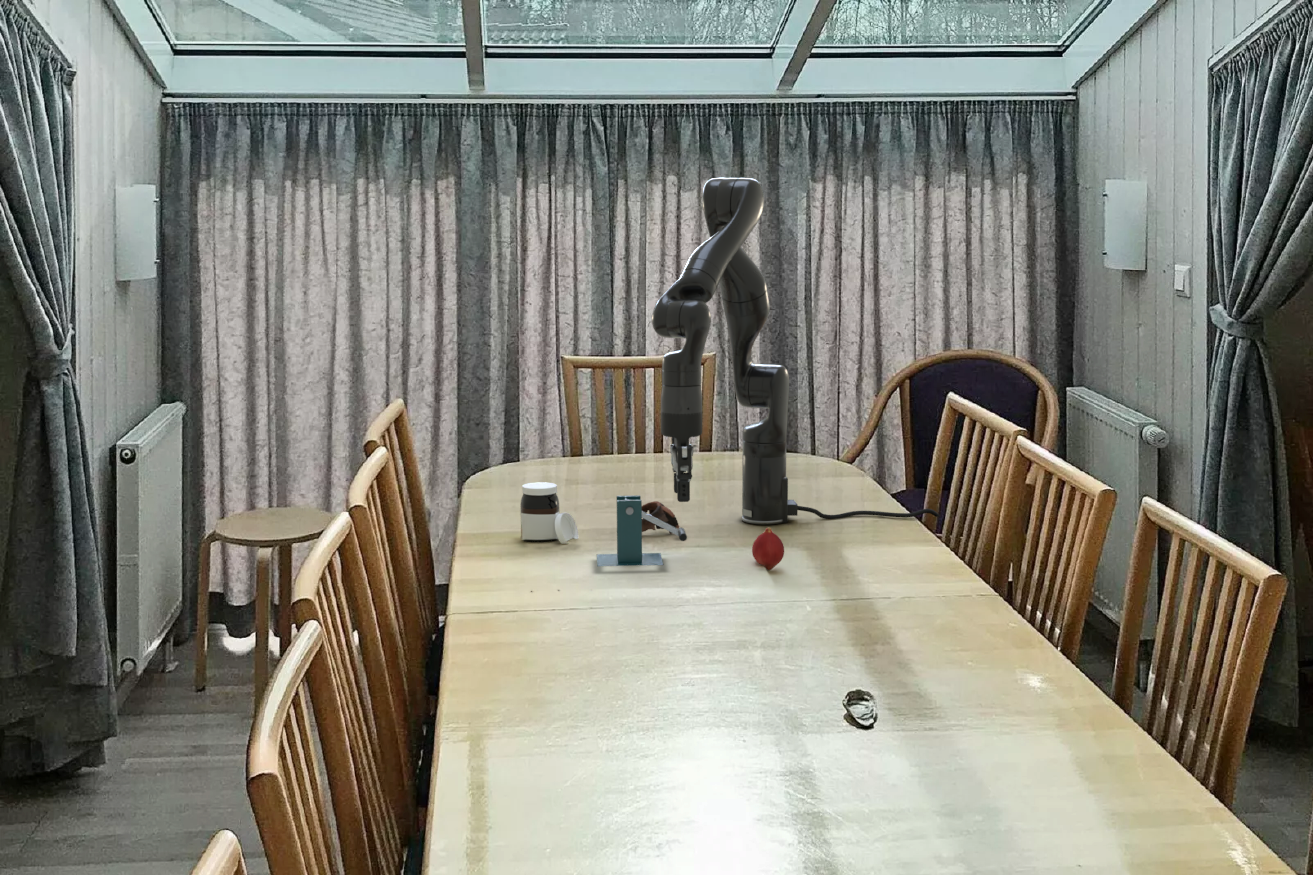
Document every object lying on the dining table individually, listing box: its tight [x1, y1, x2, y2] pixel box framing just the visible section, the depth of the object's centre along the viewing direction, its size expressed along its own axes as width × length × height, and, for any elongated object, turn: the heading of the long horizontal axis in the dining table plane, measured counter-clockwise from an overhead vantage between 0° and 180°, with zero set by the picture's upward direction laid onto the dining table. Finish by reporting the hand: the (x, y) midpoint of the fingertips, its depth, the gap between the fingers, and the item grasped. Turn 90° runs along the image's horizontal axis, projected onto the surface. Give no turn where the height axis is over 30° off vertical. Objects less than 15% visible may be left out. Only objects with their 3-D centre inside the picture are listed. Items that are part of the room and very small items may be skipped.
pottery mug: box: [642, 500, 680, 535], centre depth 279 cm, size 12×10×8 cm
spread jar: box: [519, 481, 579, 545], centre depth 272 cm, size 12×11×12 cm
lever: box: [624, 498, 688, 542], centre depth 254 cm, size 13×5×2 cm, turn 93°
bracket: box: [596, 494, 664, 567], centre depth 254 cm, size 12×9×13 cm
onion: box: [751, 527, 785, 571], centre depth 251 cm, size 6×6×8 cm
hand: (681, 497), depth 253 cm, fingers open, 8 cm apart
